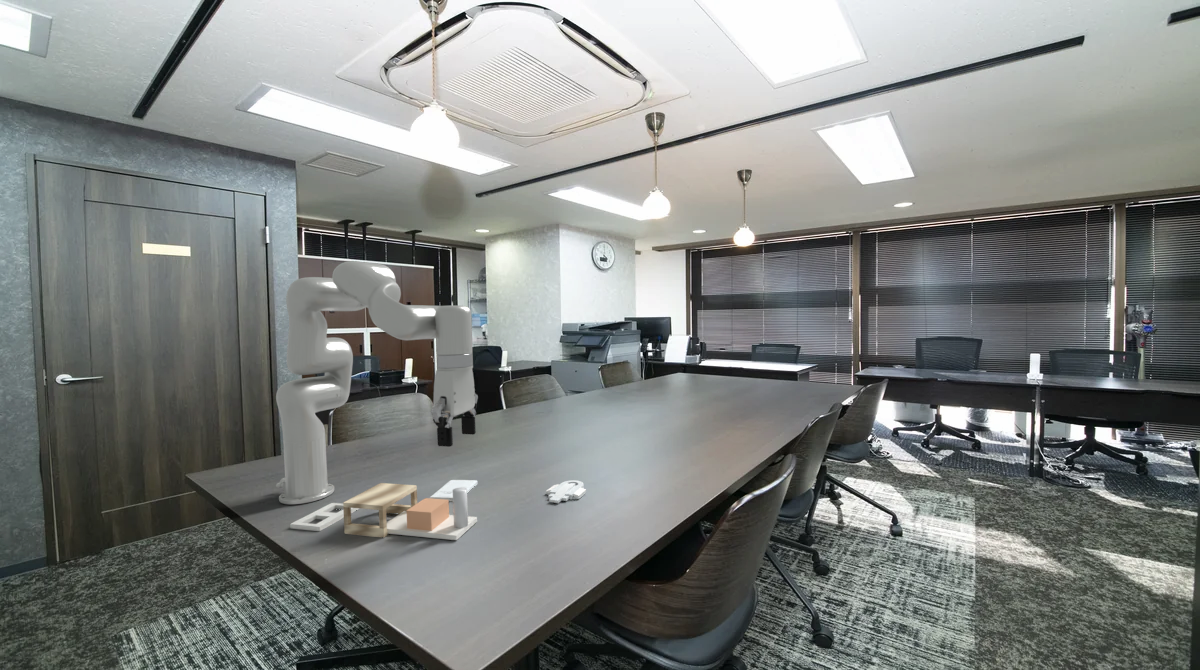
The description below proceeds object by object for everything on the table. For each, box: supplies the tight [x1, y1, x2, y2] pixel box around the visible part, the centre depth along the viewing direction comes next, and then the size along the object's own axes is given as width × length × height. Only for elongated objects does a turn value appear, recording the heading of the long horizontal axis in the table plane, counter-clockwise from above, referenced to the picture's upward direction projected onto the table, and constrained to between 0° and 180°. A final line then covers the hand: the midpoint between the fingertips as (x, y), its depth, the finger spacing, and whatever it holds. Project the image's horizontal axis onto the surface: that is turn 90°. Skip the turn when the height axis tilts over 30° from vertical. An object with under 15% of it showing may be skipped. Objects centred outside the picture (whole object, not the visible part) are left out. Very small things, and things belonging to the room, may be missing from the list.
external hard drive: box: [428, 479, 479, 502], centre depth 125 cm, size 2×8×12 cm
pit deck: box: [289, 502, 360, 532], centre depth 110 cm, size 8×12×1 cm, turn 167°
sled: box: [387, 487, 478, 541], centre depth 104 cm, size 19×9×9 cm, turn 77°
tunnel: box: [342, 482, 418, 539], centre depth 106 cm, size 10×12×7 cm
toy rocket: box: [545, 479, 587, 504], centre depth 123 cm, size 16×10×2 cm, turn 157°
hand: (457, 439), depth 101 cm, fingers open, 9 cm apart
